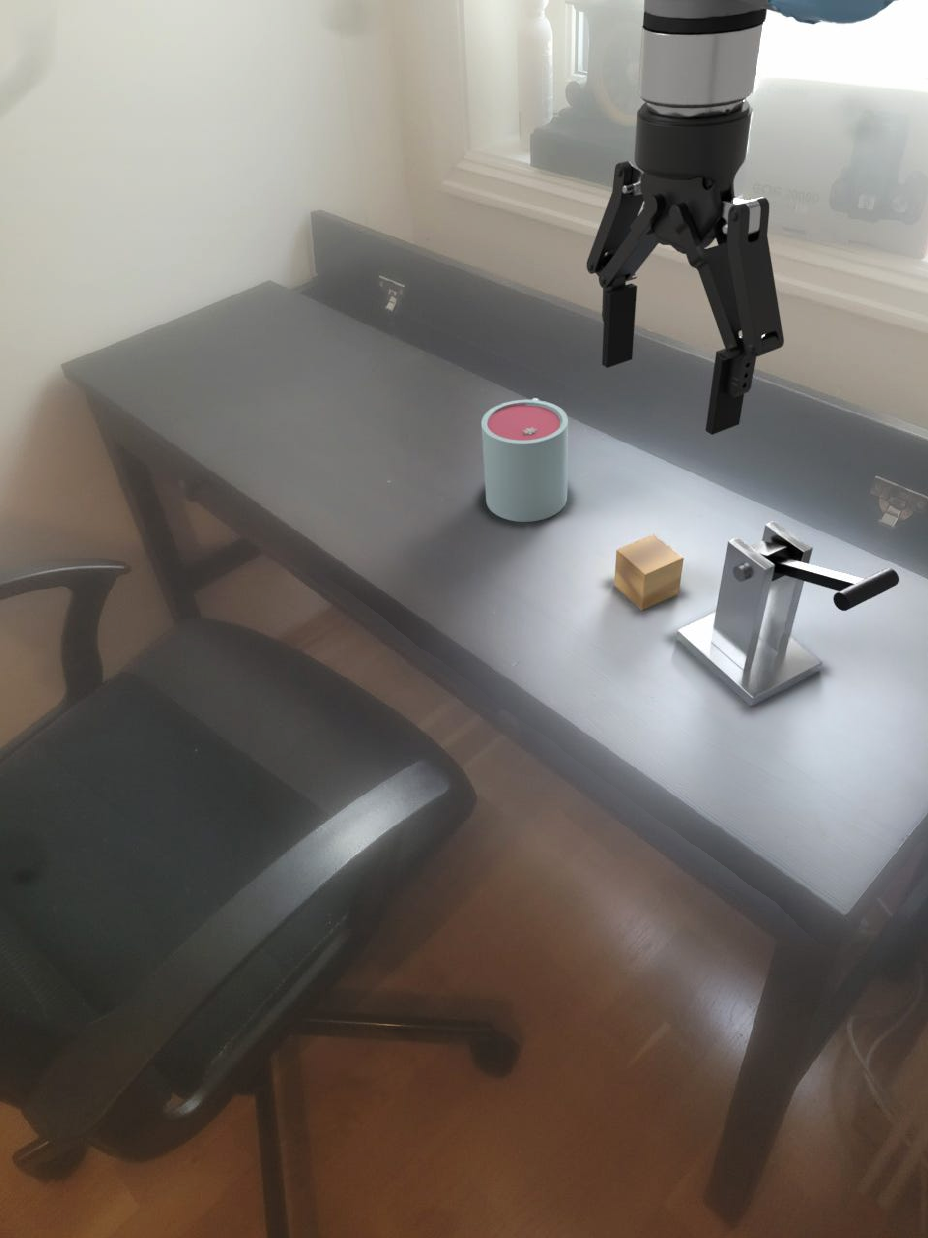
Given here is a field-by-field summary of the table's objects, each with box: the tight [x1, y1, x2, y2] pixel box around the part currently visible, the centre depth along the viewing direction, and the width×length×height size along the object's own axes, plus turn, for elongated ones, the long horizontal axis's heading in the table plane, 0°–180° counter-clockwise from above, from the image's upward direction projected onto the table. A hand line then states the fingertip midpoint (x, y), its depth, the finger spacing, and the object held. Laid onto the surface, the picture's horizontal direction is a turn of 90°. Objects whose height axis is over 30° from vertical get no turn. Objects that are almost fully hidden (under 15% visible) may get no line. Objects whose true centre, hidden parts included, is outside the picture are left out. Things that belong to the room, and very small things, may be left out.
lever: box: [749, 540, 900, 612], centre depth 67 cm, size 12×5×2 cm, turn 29°
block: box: [613, 533, 685, 611], centre depth 85 cm, size 5×5×5 cm
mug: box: [480, 397, 569, 523], centre depth 97 cm, size 14×9×10 cm
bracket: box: [675, 520, 823, 708], centre depth 75 cm, size 10×8×13 cm
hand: (666, 393), depth 72 cm, fingers open, 13 cm apart
